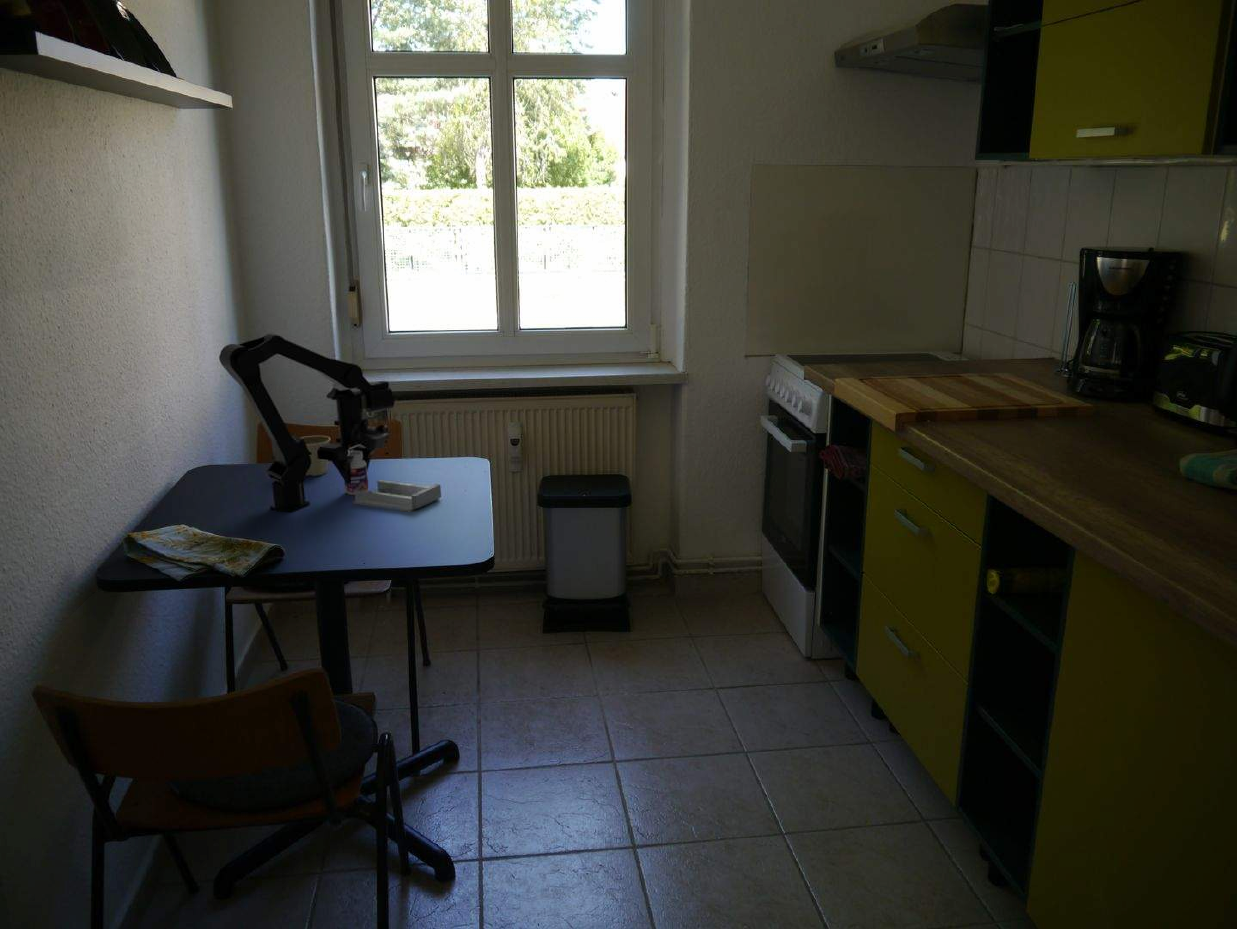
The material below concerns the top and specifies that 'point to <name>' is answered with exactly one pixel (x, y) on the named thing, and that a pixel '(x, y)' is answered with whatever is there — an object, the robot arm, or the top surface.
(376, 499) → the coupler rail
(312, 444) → the flower pot
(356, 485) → the pill bottle
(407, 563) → the top surface
